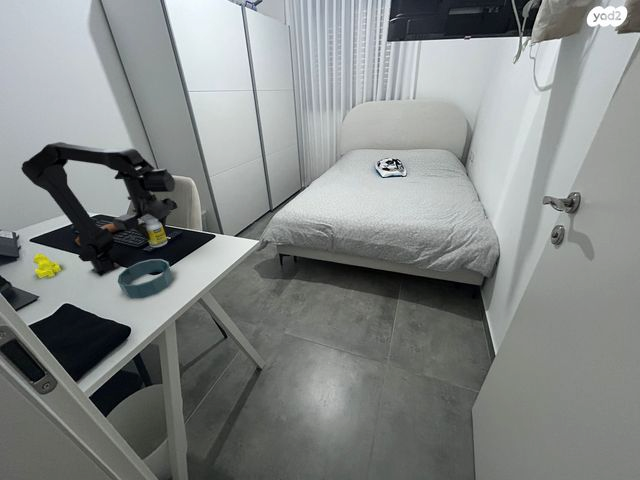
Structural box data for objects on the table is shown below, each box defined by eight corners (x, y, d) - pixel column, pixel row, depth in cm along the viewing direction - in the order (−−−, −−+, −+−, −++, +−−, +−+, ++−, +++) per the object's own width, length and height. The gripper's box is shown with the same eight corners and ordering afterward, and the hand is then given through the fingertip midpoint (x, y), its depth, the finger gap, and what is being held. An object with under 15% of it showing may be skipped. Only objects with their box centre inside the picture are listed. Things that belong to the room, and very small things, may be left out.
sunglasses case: (119, 224, 125) (117, 215, 120) (127, 234, 124) (126, 225, 119) (73, 240, 112) (69, 230, 107) (82, 251, 111) (79, 242, 106)
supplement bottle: (160, 248, 86) (150, 222, 81) (146, 246, 87) (135, 220, 83) (171, 240, 91) (162, 215, 86) (158, 239, 92) (149, 214, 87)
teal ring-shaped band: (115, 289, 84) (109, 276, 81) (157, 266, 94) (153, 255, 92) (139, 304, 78) (133, 291, 75) (182, 278, 88) (177, 266, 86)
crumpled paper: (40, 280, 88) (27, 261, 85) (36, 272, 93) (24, 254, 89) (63, 272, 92) (51, 254, 89) (58, 264, 97) (46, 246, 93)
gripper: (128, 206, 70) (148, 254, 78) (183, 185, 85) (195, 227, 93) (101, 201, 73) (123, 248, 81) (158, 182, 88) (172, 223, 96)
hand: (156, 236), depth 88 cm, fingers closed on supplement bottle, 5 cm apart
